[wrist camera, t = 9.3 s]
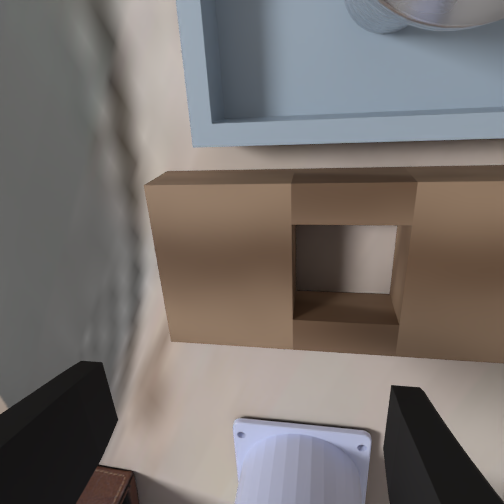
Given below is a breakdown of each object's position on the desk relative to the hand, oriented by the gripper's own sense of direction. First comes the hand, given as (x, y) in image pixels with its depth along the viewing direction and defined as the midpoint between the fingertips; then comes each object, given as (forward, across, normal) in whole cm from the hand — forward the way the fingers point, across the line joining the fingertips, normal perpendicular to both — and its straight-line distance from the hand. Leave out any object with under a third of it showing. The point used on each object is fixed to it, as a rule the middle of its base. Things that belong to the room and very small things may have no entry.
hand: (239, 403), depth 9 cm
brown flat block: (+9, -3, 0) cm, 10 cm away
